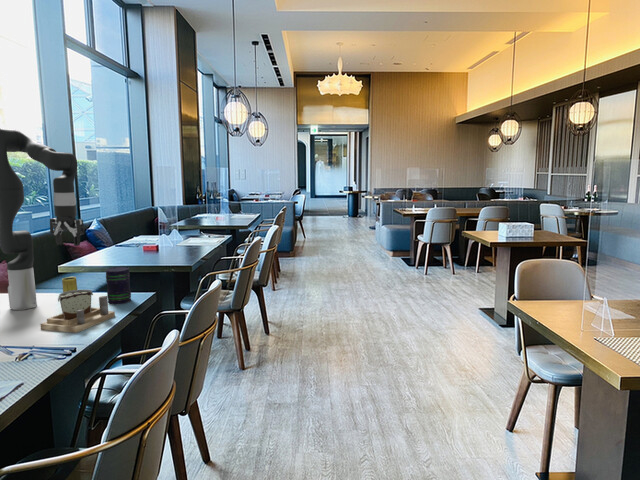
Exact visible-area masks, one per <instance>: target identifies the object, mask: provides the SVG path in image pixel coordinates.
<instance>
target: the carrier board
mask: <svg viewBox="0 0 640 480" xmlns="http://www.w3.org/2000/svg"><path fill="white" fill-rule="evenodd" d="M98 302H99V307H92V306H91V312H89V313H87V314H84V310H77V311H76V312H77V317H76V318H74V319H71V320H64V318H63V313H59V314H56V315H53V316H51V317H48V318H46V321H44V322H41V323H40V324H39V325H40V329H41V330H46V331H55V332H56V331H57V332H65V333H75V334H77V333H79V332H82V331H84V330H87V329H89V328H92V327H93V326H96V325H98V324H100V323H103V322H105V321H107V320H110V319H112V318H115V317H116V311H114V310H113V311H112V310H109V304H108V298H107V295H101V296H98Z"/></svg>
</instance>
